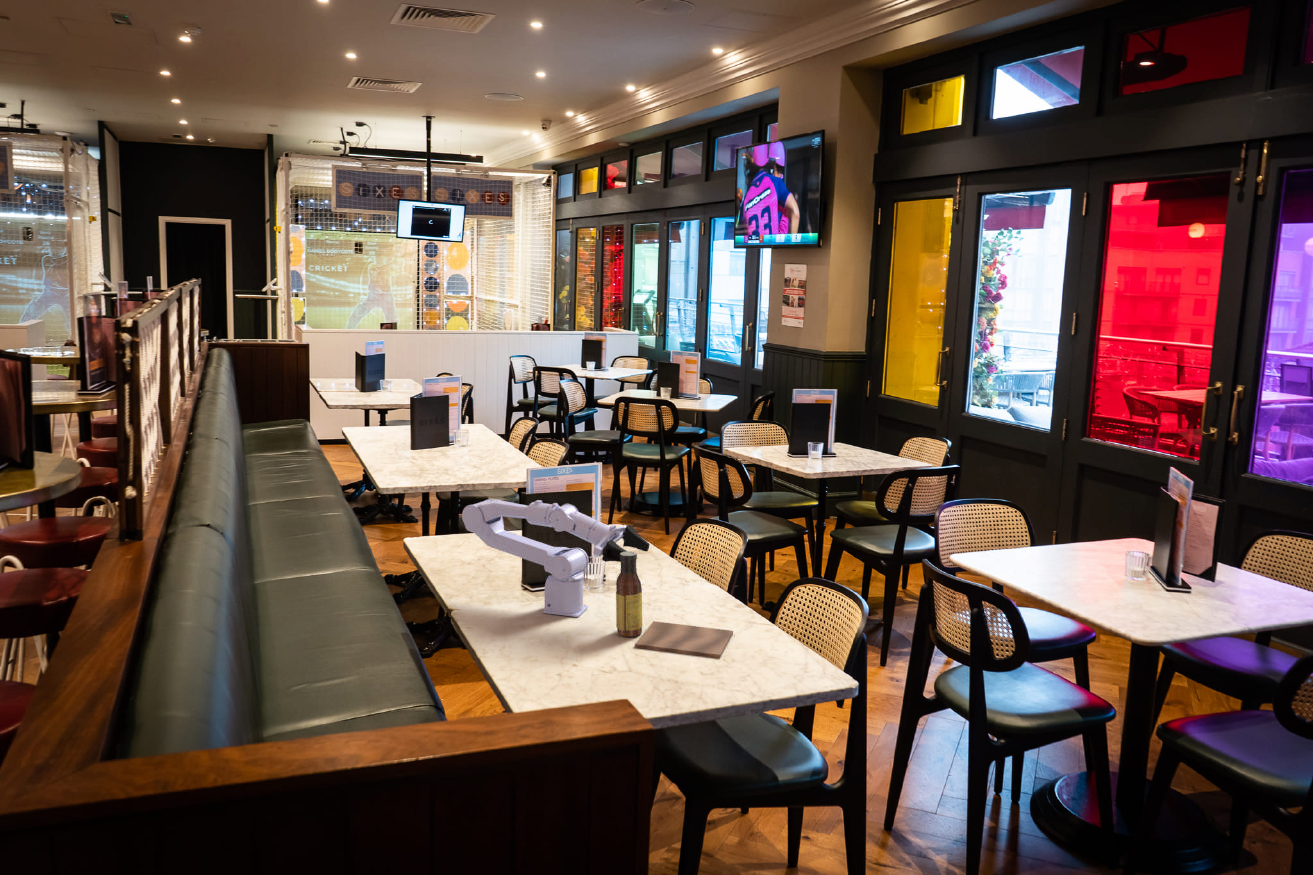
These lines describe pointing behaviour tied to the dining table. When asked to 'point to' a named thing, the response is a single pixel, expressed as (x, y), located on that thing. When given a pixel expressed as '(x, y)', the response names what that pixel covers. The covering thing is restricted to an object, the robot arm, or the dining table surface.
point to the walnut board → (685, 639)
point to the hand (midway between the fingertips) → (640, 553)
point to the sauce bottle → (628, 597)
